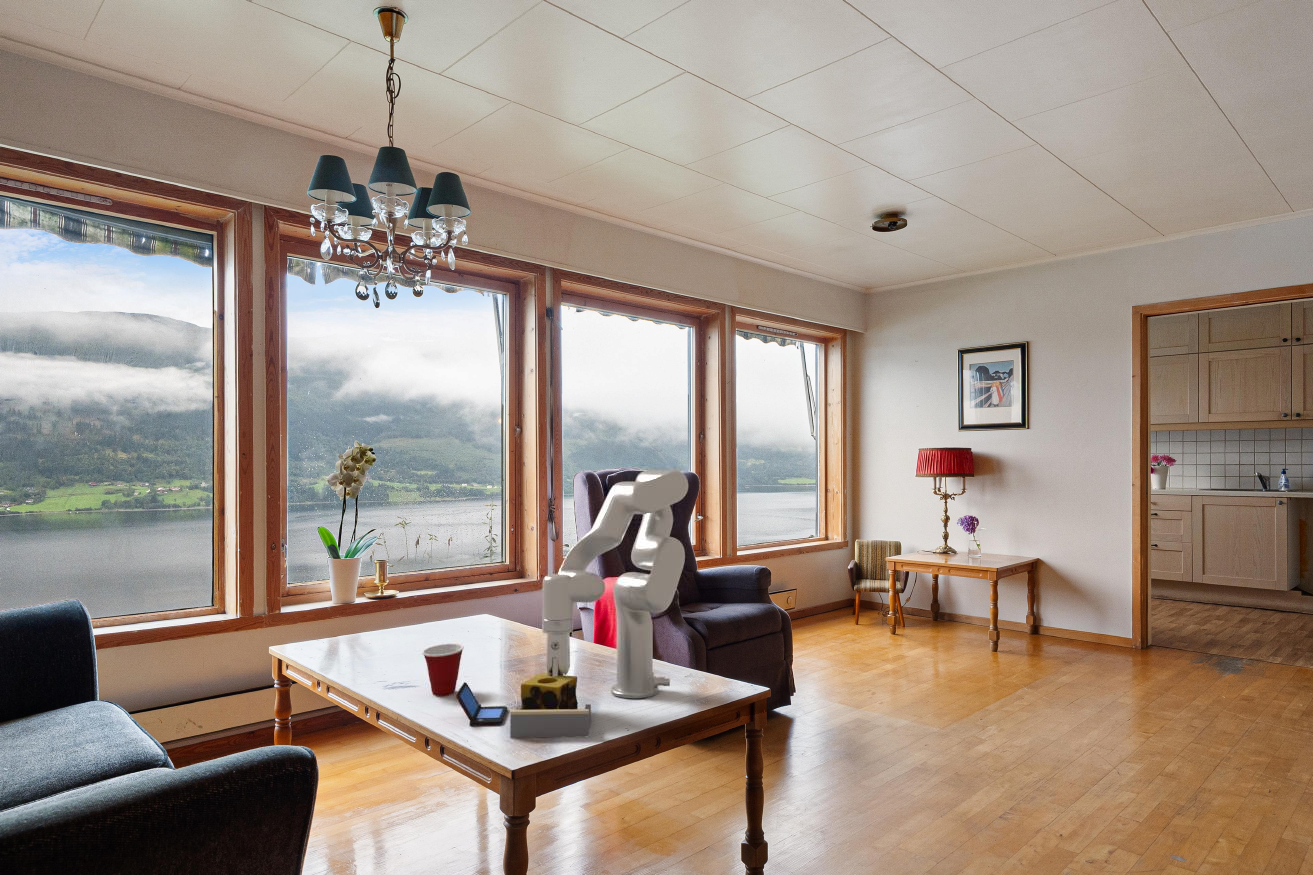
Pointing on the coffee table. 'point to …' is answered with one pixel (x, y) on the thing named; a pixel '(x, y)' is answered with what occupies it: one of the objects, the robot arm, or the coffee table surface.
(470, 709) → the handheld game console
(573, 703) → the yellow and black cube
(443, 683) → the plastic cup
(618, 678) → the robot arm
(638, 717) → the coffee table surface
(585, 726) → the holder
